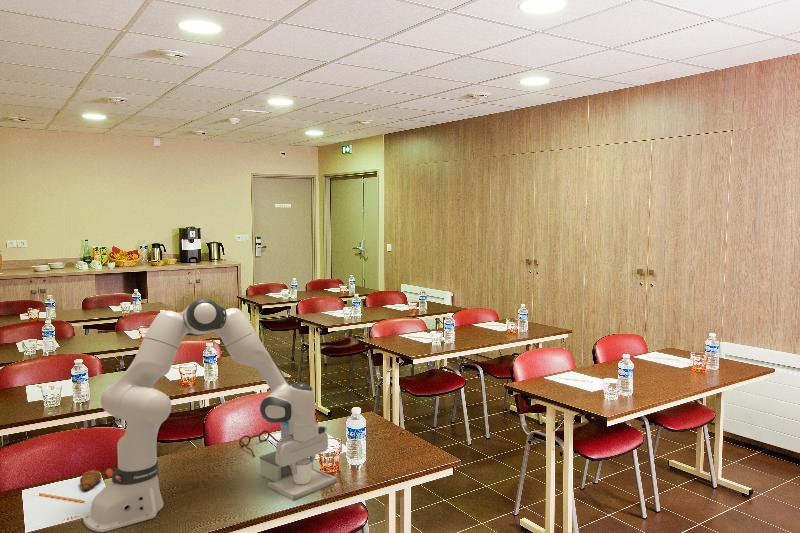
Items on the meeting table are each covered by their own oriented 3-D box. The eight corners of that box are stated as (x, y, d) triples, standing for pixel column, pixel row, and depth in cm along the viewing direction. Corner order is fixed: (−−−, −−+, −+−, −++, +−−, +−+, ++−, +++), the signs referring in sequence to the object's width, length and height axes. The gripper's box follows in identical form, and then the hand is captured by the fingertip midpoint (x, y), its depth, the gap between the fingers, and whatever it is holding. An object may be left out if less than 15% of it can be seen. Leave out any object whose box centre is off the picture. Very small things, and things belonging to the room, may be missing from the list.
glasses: (268, 440, 244) (268, 428, 244) (284, 449, 234) (284, 437, 234) (238, 448, 236) (238, 436, 235) (254, 458, 226) (253, 445, 225)
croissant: (97, 492, 197) (96, 477, 197) (74, 494, 196) (74, 479, 195) (106, 475, 210) (106, 461, 210) (85, 477, 209) (85, 463, 208)
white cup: (314, 476, 205) (314, 457, 205) (309, 485, 199) (309, 465, 198) (295, 475, 206) (295, 456, 206) (289, 484, 200) (289, 464, 199)
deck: (294, 500, 191) (294, 480, 190) (250, 478, 208) (250, 459, 207) (336, 482, 204) (336, 463, 204) (292, 462, 221) (291, 445, 220)
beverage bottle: (276, 452, 231) (276, 401, 229) (286, 444, 239) (285, 395, 237) (297, 454, 229) (296, 403, 227) (305, 446, 237) (305, 397, 236)
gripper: (282, 441, 191) (283, 483, 192) (330, 425, 206) (330, 464, 207) (270, 437, 195) (271, 477, 197) (318, 421, 211) (319, 459, 212)
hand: (302, 470), depth 202 cm, fingers closed on white cup, 5 cm apart
